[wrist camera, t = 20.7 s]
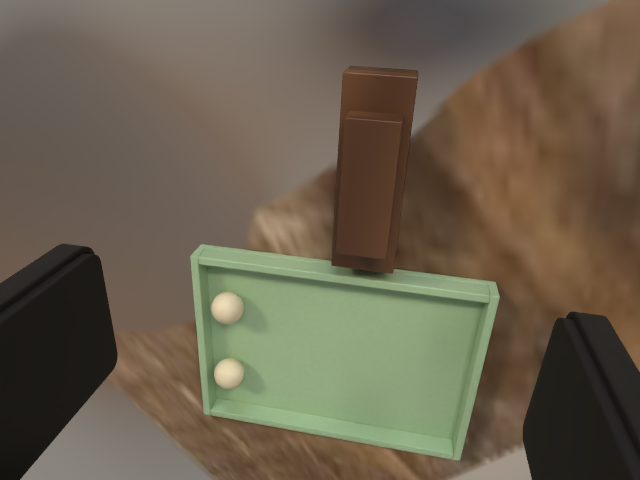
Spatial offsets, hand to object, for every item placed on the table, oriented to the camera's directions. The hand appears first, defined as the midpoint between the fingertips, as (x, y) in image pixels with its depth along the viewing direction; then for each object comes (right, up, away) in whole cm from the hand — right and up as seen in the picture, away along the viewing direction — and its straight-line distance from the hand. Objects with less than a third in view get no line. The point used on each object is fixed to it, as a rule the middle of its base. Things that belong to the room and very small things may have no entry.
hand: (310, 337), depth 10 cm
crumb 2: (-7, -9, +29) cm, 31 cm away
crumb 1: (-7, -3, +26) cm, 27 cm away
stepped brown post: (+4, +7, +21) cm, 23 cm away
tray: (+1, -6, +28) cm, 29 cm away
